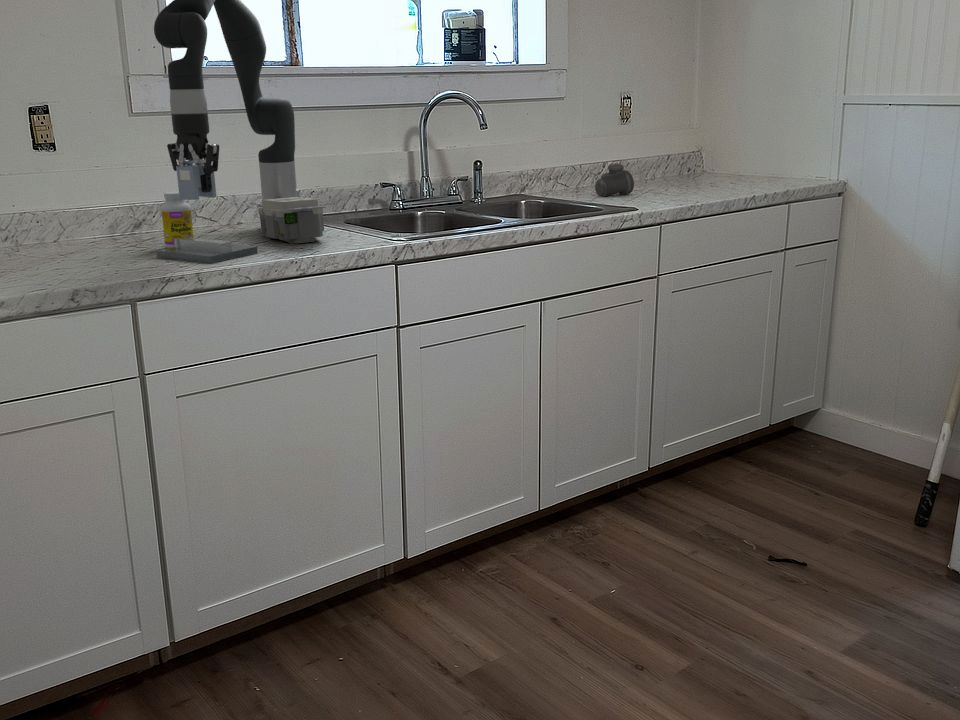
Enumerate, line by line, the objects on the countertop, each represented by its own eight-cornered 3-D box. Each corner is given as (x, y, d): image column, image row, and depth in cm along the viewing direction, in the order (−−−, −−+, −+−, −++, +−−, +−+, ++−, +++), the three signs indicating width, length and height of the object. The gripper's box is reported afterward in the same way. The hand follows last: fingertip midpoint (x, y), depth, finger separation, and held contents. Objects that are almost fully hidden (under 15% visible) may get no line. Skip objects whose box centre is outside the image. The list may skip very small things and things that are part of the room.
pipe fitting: (619, 191, 309) (619, 161, 305) (635, 195, 303) (635, 164, 299) (591, 198, 304) (590, 167, 300) (606, 202, 298) (605, 171, 293)
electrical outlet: (288, 246, 213) (283, 203, 211) (253, 238, 237) (249, 199, 235) (336, 241, 218) (332, 199, 216) (297, 234, 243) (293, 196, 240)
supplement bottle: (169, 250, 214) (163, 194, 210) (162, 246, 219) (155, 192, 216) (198, 247, 218) (192, 192, 214) (190, 243, 223) (184, 190, 219)
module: (200, 195, 206) (197, 164, 204) (216, 196, 204) (213, 164, 202) (179, 198, 201) (175, 166, 199) (195, 200, 199) (191, 167, 197)
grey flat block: (204, 247, 217) (202, 232, 216) (257, 253, 209) (256, 237, 208) (156, 257, 206) (155, 241, 205) (211, 263, 197) (209, 247, 196)
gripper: (226, 111, 197) (233, 191, 202) (179, 111, 204) (188, 188, 209) (199, 112, 191) (207, 195, 196) (152, 112, 198) (161, 192, 203)
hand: (197, 191), depth 202 cm, fingers closed on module, 5 cm apart
